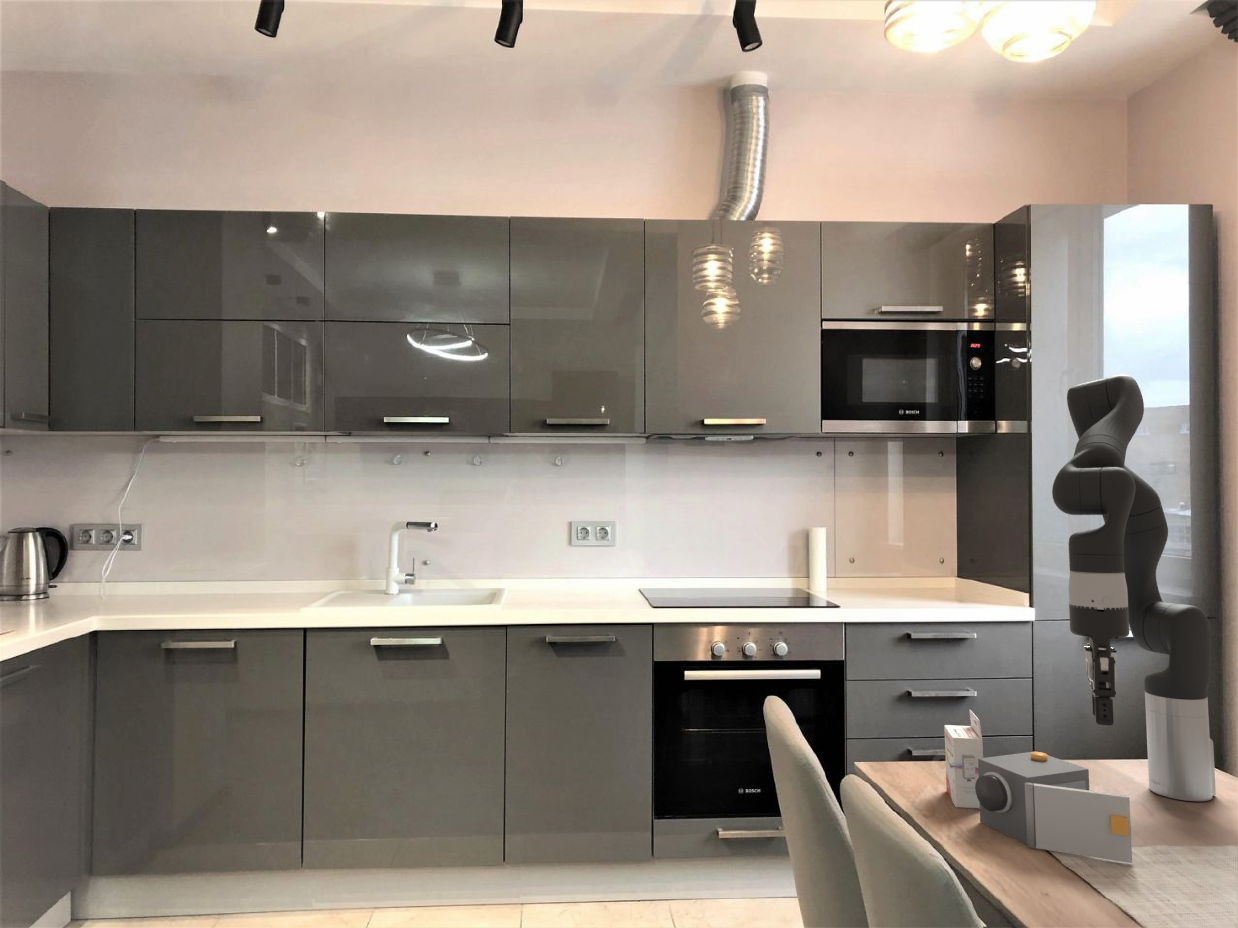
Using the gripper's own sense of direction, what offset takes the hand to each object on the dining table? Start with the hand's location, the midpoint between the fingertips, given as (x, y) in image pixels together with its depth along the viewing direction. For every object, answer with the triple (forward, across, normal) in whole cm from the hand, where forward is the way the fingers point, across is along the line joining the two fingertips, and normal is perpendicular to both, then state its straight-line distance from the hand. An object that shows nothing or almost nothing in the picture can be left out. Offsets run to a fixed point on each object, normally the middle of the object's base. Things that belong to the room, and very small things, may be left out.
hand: (1102, 719), depth 118 cm
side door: (+19, +2, -4) cm, 19 cm away
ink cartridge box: (+20, -16, -20) cm, 32 cm away
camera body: (+19, -6, -10) cm, 22 cm away
